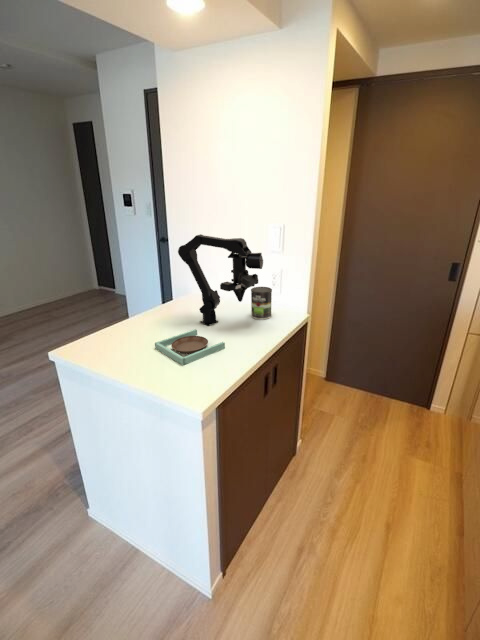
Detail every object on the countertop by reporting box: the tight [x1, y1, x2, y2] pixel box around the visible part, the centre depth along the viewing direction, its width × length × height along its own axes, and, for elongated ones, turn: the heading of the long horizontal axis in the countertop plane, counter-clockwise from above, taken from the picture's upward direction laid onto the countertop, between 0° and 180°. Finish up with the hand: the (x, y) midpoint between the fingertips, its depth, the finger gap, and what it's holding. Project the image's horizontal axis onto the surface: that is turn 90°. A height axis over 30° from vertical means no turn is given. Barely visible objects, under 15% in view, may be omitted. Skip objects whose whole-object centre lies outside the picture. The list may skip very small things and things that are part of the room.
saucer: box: [170, 335, 209, 355], centre depth 134 cm, size 15×15×3 cm
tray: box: [154, 328, 226, 366], centre depth 134 cm, size 20×20×2 cm
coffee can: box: [250, 286, 273, 321], centre depth 165 cm, size 10×10×14 cm
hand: (240, 301), depth 151 cm, fingers closed
